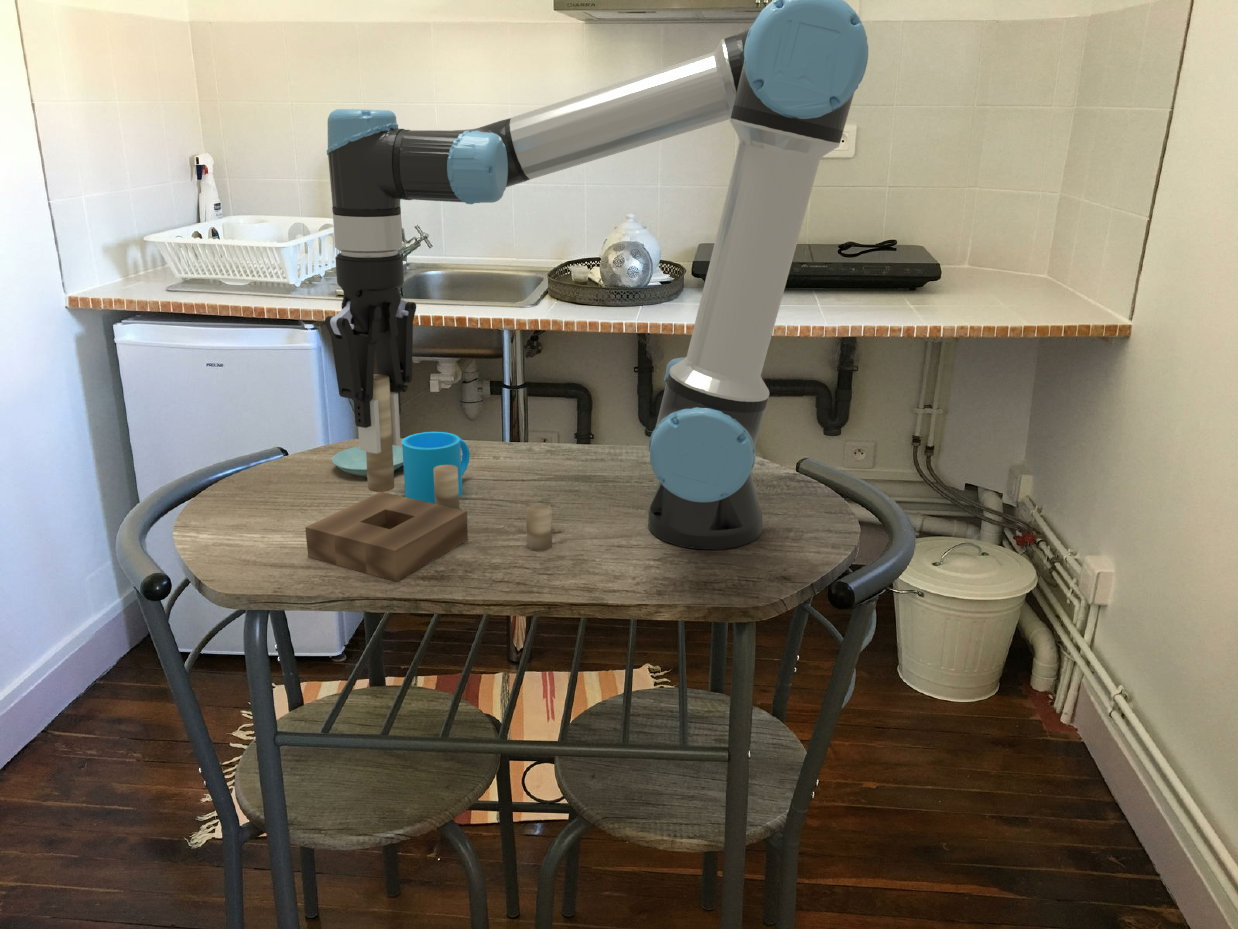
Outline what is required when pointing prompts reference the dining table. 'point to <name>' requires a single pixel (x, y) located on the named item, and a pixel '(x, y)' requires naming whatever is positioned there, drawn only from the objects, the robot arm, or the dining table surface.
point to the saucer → (362, 460)
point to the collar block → (387, 535)
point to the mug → (431, 461)
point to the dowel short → (539, 527)
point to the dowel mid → (446, 486)
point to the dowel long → (382, 440)
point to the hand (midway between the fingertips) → (380, 446)
